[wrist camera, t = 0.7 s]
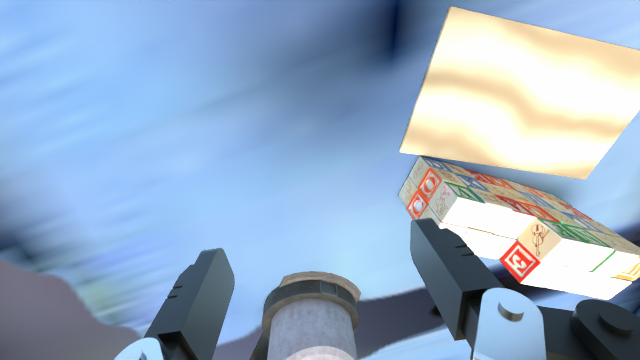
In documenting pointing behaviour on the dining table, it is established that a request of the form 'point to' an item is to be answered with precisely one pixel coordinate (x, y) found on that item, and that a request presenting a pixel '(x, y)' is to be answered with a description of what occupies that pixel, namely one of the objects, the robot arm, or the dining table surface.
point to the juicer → (309, 319)
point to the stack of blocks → (522, 229)
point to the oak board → (522, 96)
